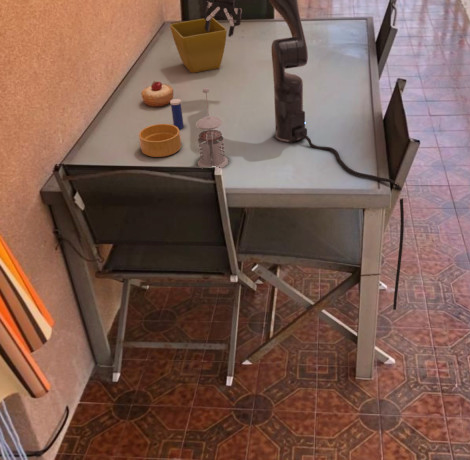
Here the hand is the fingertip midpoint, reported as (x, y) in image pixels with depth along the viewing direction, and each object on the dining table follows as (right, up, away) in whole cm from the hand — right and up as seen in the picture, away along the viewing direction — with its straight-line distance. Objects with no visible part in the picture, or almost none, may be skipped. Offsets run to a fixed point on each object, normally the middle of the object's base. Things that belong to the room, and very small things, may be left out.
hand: (218, 34), depth 242 cm
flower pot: (-9, -3, +37) cm, 38 cm away
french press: (0, -52, -34) cm, 62 cm away
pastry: (-23, -24, +8) cm, 34 cm away
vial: (-13, -36, -12) cm, 40 cm away
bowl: (-18, -46, -24) cm, 55 cm away
